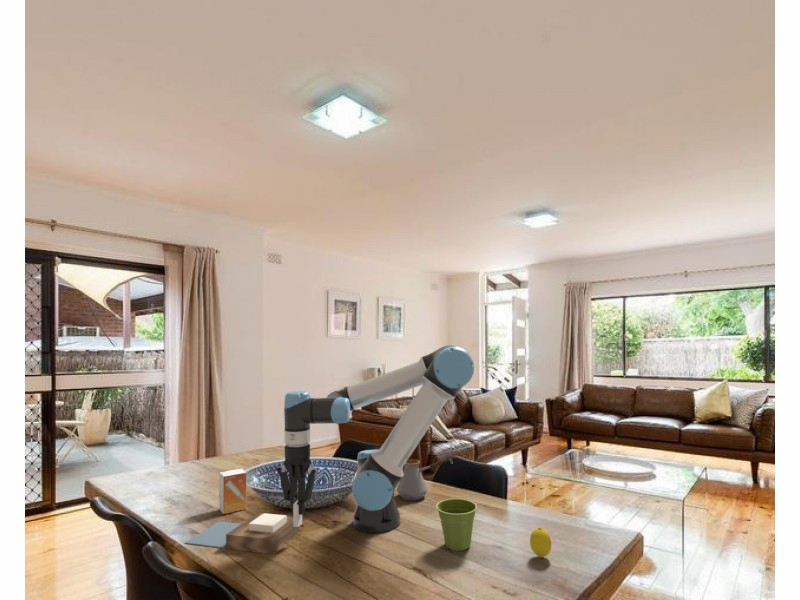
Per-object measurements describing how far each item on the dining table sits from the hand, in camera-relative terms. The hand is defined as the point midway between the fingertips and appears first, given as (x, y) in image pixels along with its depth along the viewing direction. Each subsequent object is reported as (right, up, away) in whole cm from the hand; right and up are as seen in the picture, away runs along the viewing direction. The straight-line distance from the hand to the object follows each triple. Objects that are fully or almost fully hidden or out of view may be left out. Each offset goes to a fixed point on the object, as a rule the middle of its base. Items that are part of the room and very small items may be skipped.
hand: (297, 524), depth 141 cm
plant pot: (+47, -4, -4) cm, 47 cm away
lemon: (+68, -3, -13) cm, 70 cm away
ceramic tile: (-10, -2, +3) cm, 10 cm away
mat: (-25, -6, +7) cm, 27 cm away
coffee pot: (+40, -7, +35) cm, 53 cm away
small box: (-29, -8, +28) cm, 41 cm away
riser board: (-11, -6, +3) cm, 13 cm away
